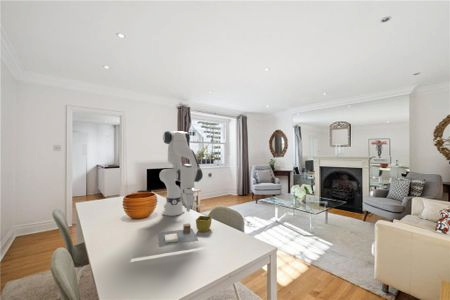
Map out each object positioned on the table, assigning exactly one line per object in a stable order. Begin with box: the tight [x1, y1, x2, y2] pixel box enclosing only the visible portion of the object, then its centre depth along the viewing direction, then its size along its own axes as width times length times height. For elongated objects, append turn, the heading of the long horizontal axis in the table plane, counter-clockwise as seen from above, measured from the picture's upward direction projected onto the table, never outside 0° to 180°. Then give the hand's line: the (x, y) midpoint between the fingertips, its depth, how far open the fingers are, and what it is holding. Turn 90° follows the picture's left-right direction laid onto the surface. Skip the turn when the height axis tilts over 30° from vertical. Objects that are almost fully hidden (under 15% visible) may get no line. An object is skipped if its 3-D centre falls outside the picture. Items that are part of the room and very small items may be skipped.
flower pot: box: [195, 215, 213, 233], centre depth 132 cm, size 9×9×9 cm
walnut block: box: [182, 222, 191, 232], centre depth 130 cm, size 4×4×4 cm
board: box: [157, 228, 199, 247], centre depth 121 cm, size 20×22×1 cm
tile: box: [165, 233, 178, 243], centre depth 117 cm, size 2×7×8 cm
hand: (187, 209), depth 130 cm, fingers open, 7 cm apart
